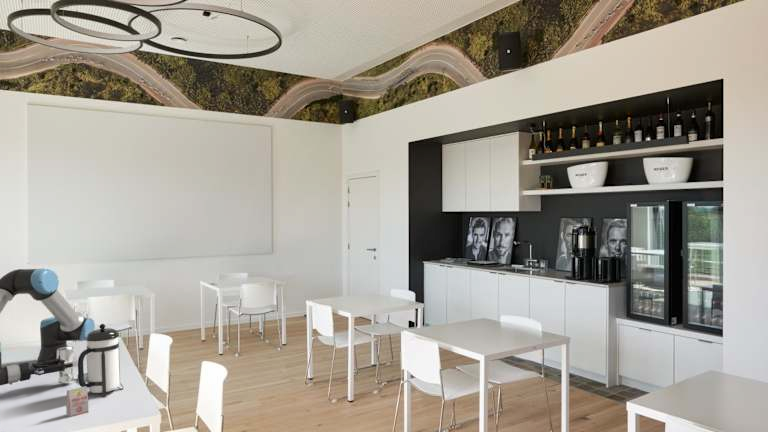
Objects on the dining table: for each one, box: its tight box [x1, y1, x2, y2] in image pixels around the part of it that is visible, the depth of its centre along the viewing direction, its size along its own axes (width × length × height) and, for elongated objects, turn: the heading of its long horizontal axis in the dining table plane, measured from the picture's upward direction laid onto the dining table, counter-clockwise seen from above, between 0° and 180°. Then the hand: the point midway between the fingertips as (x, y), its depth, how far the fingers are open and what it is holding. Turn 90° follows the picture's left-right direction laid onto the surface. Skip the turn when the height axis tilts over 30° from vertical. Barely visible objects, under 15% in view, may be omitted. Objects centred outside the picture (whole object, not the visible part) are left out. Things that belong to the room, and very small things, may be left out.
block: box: [77, 372, 88, 384], centre depth 247 cm, size 2×9×8 cm
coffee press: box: [77, 323, 124, 398], centre depth 227 cm, size 17×16×30 cm
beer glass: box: [57, 346, 75, 384], centre depth 240 cm, size 7×7×15 cm
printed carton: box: [65, 386, 90, 418], centre depth 205 cm, size 4×7×10 cm, turn 134°
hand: (77, 361), depth 243 cm, fingers closed on beer glass, 7 cm apart
